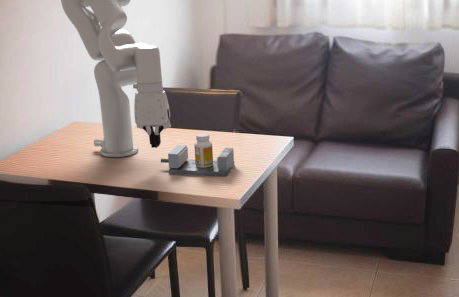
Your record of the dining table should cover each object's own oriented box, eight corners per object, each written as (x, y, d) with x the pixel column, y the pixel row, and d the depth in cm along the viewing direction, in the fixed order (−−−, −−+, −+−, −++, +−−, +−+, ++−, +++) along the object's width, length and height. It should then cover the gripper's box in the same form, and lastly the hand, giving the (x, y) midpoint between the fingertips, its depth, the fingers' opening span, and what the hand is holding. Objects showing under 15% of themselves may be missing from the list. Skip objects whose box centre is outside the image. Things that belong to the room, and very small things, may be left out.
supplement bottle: (214, 162, 210) (213, 132, 208) (211, 168, 205) (209, 137, 202) (197, 162, 211) (196, 132, 209) (193, 168, 206) (191, 137, 204)
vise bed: (168, 174, 207) (167, 155, 205) (179, 163, 216) (177, 145, 214) (226, 176, 202) (225, 157, 200) (234, 165, 211) (233, 147, 210)
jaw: (156, 167, 207) (155, 153, 206) (166, 158, 216) (165, 144, 214) (179, 168, 206) (178, 154, 204) (188, 159, 214) (187, 145, 213)
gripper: (122, 90, 203) (128, 149, 208) (169, 89, 199) (174, 150, 204) (131, 85, 210) (137, 143, 215) (177, 84, 206) (182, 143, 211)
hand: (155, 146), depth 210 cm, fingers closed
